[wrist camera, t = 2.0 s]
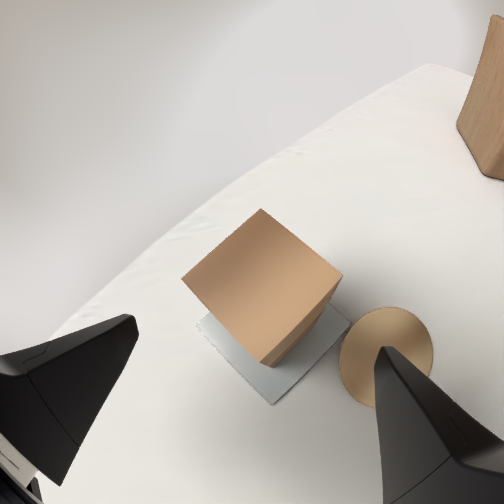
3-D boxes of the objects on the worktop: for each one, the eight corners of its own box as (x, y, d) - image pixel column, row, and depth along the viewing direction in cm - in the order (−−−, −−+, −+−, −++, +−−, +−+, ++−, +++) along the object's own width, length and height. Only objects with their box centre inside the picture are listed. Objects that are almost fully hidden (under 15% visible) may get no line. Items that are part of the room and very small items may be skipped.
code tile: (350, 324, 18) (351, 323, 18) (271, 404, 16) (271, 405, 16) (272, 255, 21) (272, 253, 21) (196, 326, 19) (195, 325, 19)
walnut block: (314, 325, 18) (343, 275, 9) (272, 368, 17) (259, 362, 8) (272, 286, 20) (260, 208, 11) (230, 326, 19) (181, 278, 10)
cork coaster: (445, 347, 16) (448, 347, 16) (387, 427, 14) (389, 427, 14) (382, 288, 19) (383, 287, 19) (316, 365, 17) (317, 364, 17)
